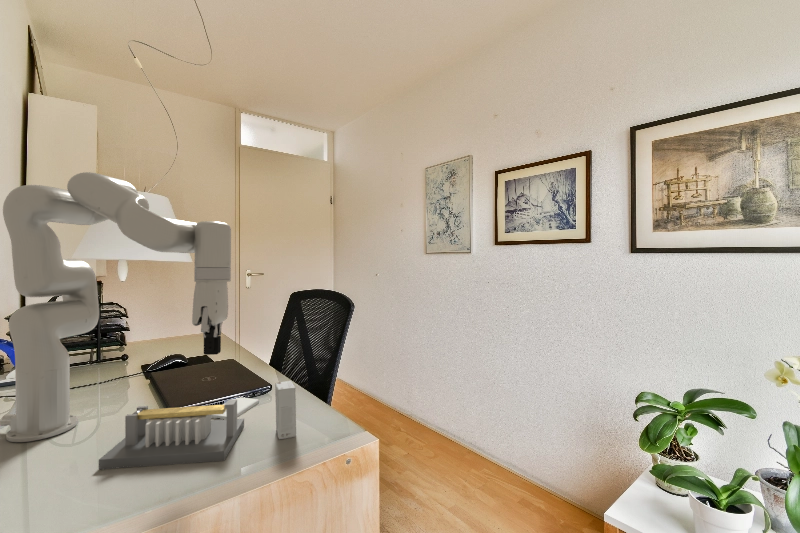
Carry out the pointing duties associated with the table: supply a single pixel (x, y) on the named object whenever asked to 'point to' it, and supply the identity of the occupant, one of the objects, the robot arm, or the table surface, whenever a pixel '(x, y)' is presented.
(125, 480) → the table surface
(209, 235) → the robot arm
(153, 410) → the bar
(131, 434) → the cooler base
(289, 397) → the skincare box
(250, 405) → the external hard drive
